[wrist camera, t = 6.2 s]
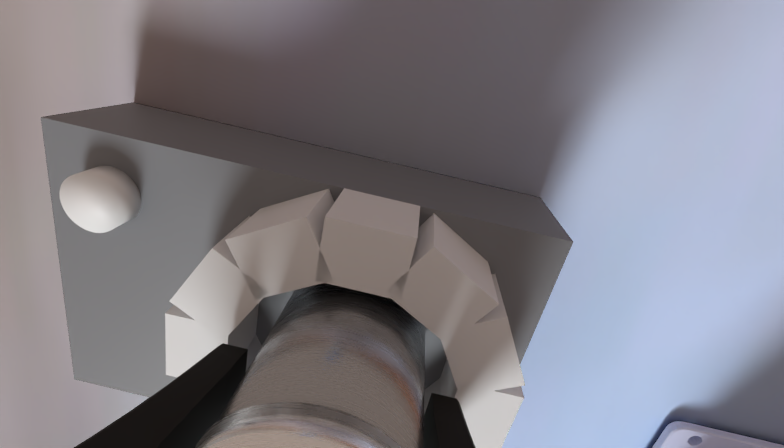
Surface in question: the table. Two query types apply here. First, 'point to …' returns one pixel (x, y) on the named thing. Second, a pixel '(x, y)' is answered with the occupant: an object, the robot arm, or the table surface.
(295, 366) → the lens
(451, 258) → the camera body
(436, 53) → the table surface
